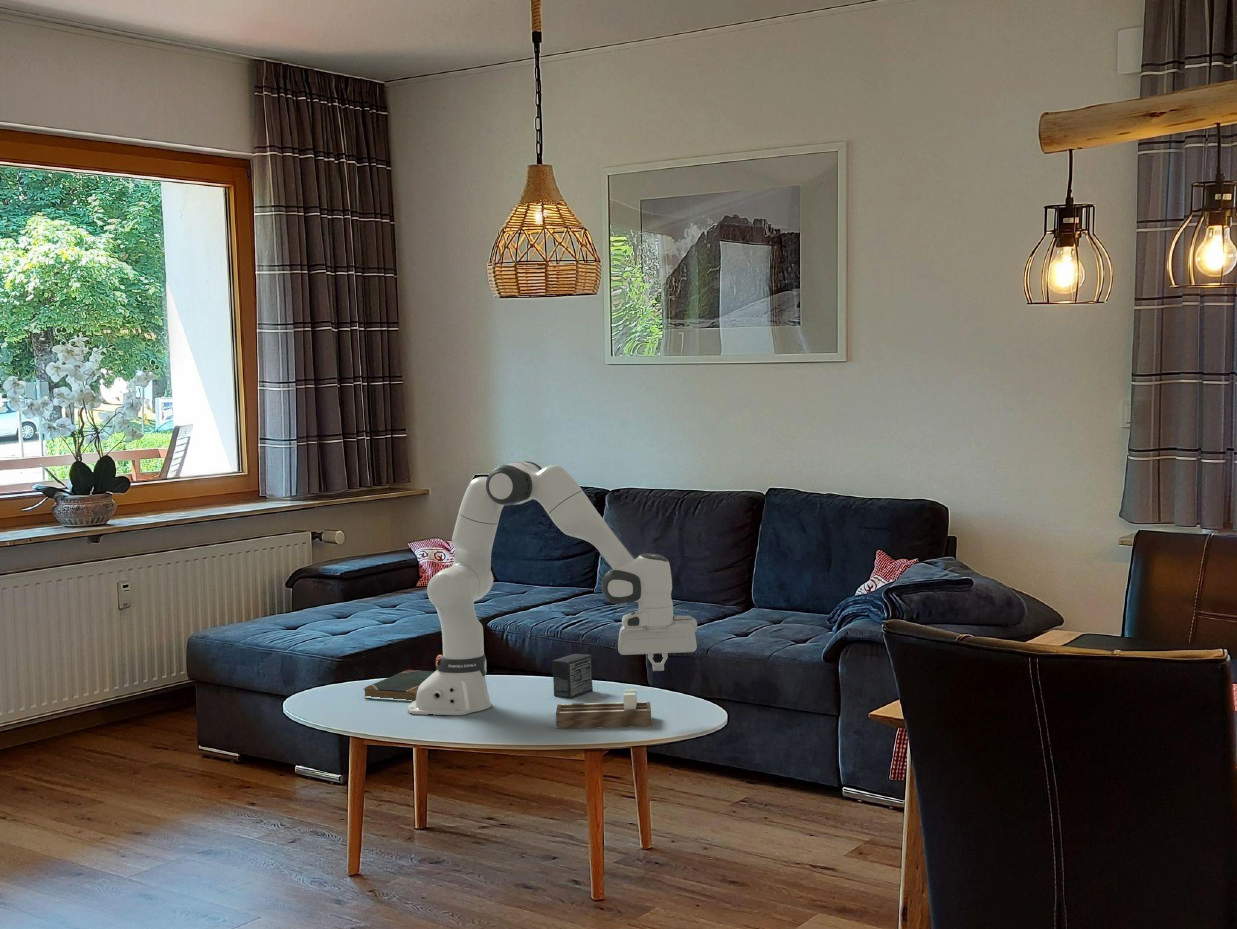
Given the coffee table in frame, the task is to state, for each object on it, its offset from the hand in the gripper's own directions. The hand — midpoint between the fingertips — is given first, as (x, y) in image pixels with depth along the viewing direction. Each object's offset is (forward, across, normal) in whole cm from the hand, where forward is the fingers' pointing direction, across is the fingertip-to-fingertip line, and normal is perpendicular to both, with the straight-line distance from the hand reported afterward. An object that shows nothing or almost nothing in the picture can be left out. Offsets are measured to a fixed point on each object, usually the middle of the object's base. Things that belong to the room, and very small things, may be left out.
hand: (658, 670), depth 325 cm
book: (+12, +71, -41) cm, 83 cm away
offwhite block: (+10, +8, +4) cm, 14 cm away
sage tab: (+10, +7, 0) cm, 13 cm away
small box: (+13, +24, -31) cm, 41 cm away
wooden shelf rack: (+13, +14, +2) cm, 19 cm away
